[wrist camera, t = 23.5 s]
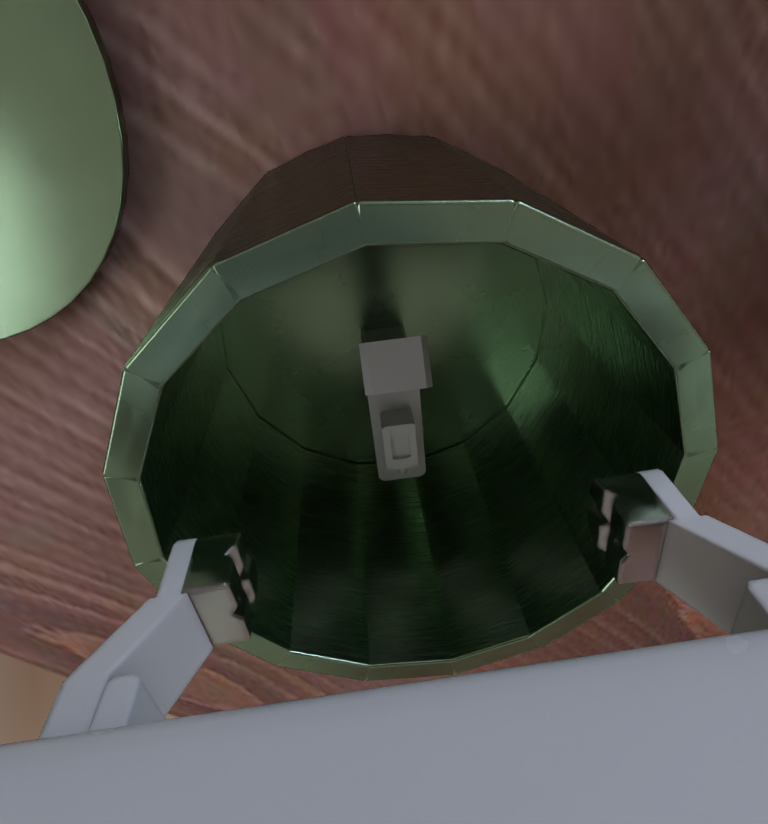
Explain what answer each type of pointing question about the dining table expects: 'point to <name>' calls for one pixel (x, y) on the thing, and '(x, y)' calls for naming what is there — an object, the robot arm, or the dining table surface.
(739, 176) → the dining table surface
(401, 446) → the lighter
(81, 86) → the tin lid
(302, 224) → the tin
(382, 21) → the dining table surface
